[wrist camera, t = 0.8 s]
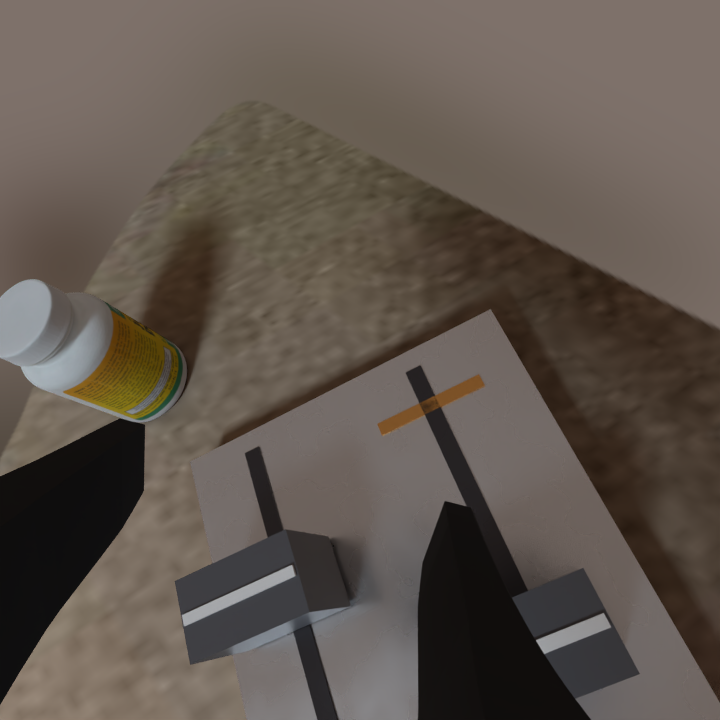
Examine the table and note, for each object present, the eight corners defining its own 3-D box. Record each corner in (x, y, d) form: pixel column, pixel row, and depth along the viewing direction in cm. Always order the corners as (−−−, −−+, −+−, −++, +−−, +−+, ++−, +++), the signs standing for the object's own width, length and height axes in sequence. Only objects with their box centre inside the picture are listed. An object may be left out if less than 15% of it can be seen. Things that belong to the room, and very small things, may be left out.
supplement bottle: (107, 421, 34) (-46, 369, 25) (132, 341, 35) (-4, 267, 27) (177, 427, 32) (37, 373, 23) (200, 342, 33) (77, 263, 25)
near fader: (625, 654, 19) (640, 674, 15) (494, 705, 20) (477, 736, 16) (579, 569, 20) (583, 567, 16) (458, 619, 21) (435, 629, 17)
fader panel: (729, 732, 19) (746, 748, 17) (310, 880, 22) (286, 908, 20) (495, 326, 27) (490, 308, 25) (212, 468, 30) (188, 461, 28)
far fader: (351, 606, 23) (308, 612, 19) (249, 650, 23) (188, 665, 20) (328, 536, 24) (284, 528, 20) (232, 580, 25) (173, 581, 21)
